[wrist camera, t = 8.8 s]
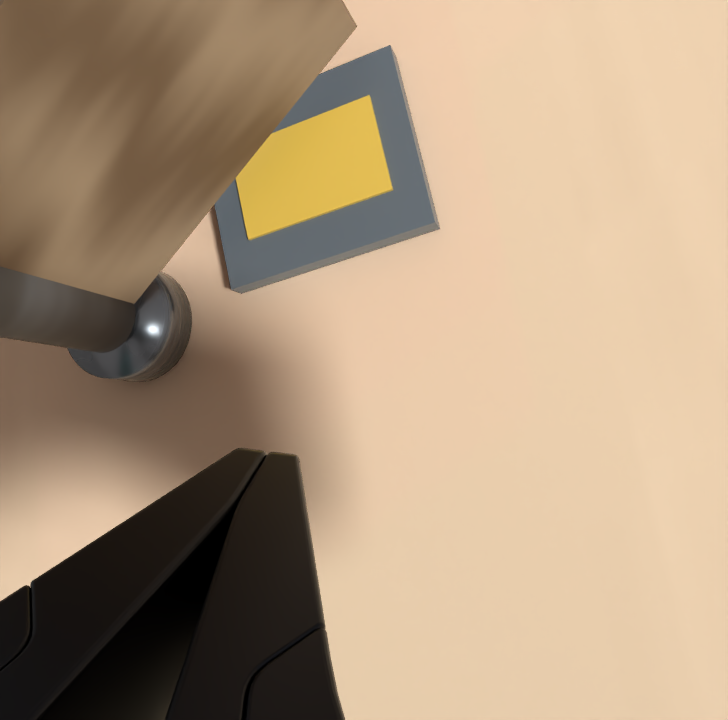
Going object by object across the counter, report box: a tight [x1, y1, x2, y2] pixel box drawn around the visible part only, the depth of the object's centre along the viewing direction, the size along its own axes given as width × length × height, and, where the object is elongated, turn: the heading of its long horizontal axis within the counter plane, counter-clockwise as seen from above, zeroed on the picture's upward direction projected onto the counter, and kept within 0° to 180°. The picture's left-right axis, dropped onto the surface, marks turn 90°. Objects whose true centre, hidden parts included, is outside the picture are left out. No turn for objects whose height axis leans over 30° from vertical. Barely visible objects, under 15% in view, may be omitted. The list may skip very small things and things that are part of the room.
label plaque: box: [214, 45, 440, 294], centre depth 22 cm, size 7×6×1 cm
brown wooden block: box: [0, 0, 357, 353], centre depth 18 cm, size 13×7×10 cm, turn 137°
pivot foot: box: [68, 272, 192, 382], centre depth 23 cm, size 4×4×2 cm
